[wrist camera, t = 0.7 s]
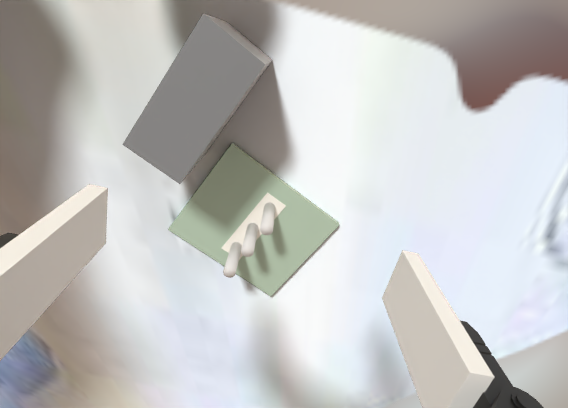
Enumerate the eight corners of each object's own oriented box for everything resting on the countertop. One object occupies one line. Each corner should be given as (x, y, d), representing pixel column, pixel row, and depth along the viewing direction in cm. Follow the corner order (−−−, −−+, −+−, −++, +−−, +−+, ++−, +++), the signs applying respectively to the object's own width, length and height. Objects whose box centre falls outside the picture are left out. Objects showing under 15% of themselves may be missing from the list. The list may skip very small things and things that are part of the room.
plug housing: (162, 121, 35) (122, 144, 27) (226, 21, 32) (203, 13, 23) (205, 152, 36) (179, 184, 28) (272, 60, 33) (265, 64, 24)
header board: (169, 227, 40) (151, 253, 35) (232, 142, 36) (221, 158, 31) (271, 293, 43) (268, 326, 38) (338, 222, 39) (345, 249, 34)
